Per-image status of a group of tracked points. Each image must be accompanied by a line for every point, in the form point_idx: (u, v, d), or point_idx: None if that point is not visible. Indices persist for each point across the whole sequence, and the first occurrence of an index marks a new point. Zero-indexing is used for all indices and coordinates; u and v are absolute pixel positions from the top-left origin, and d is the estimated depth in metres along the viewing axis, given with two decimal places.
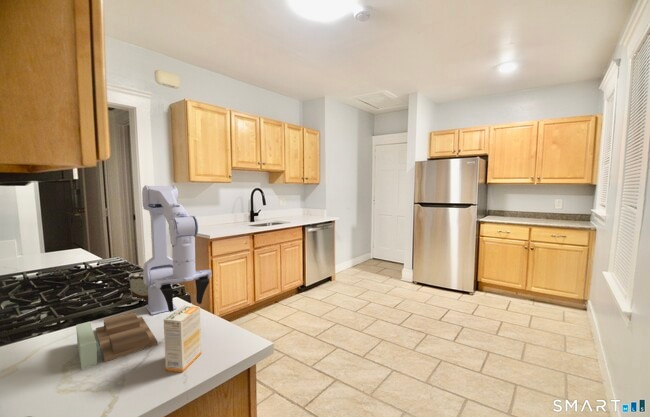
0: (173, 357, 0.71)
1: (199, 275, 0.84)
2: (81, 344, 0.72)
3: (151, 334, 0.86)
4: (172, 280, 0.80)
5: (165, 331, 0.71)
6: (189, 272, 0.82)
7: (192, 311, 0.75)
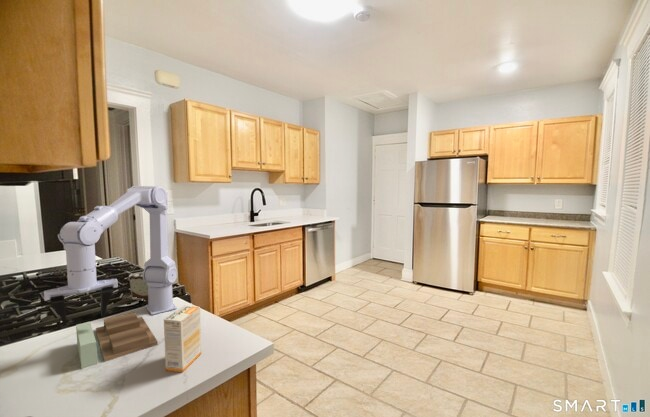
0: (173, 357, 0.71)
1: (100, 285, 0.77)
2: (81, 344, 0.72)
3: (151, 334, 0.86)
4: (64, 291, 0.72)
5: (165, 331, 0.71)
6: (85, 282, 0.74)
7: (192, 311, 0.75)
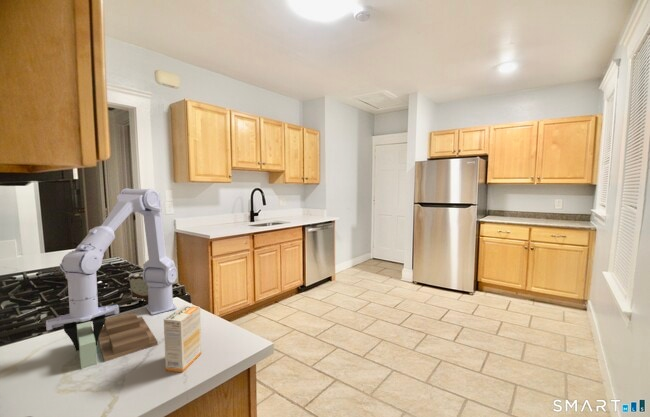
0: (173, 357, 0.71)
1: (101, 313, 0.78)
2: (81, 344, 0.72)
3: (151, 334, 0.86)
4: (66, 321, 0.73)
5: (165, 331, 0.71)
6: (87, 311, 0.75)
7: (192, 311, 0.75)
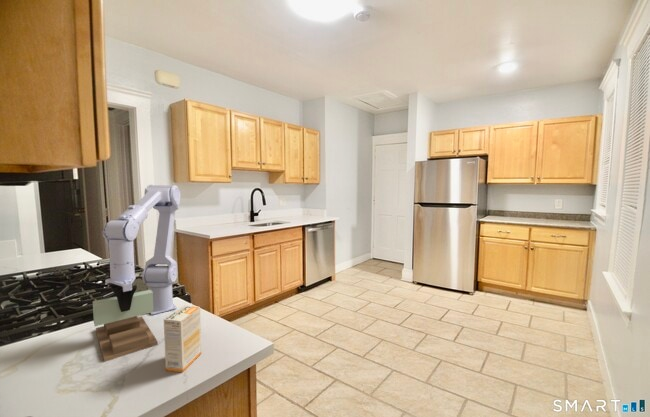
0: (173, 357, 0.71)
1: (116, 283, 0.81)
2: None
3: (151, 334, 0.86)
4: None
5: (165, 331, 0.71)
6: (110, 274, 0.82)
7: (192, 311, 0.75)
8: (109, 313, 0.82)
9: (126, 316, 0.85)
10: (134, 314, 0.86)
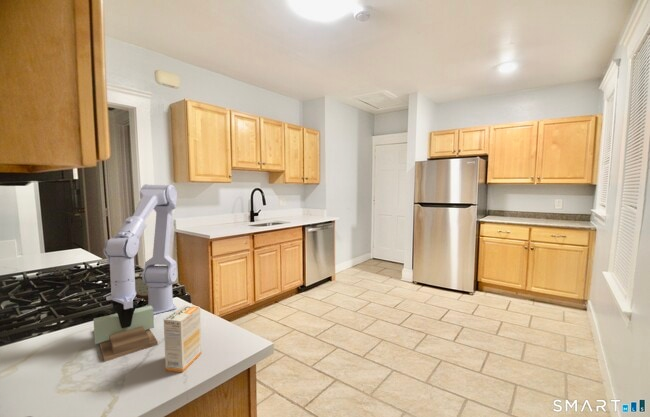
0: (173, 357, 0.71)
1: (117, 300, 0.81)
2: (96, 318, 0.82)
3: (151, 334, 0.86)
4: None
5: (165, 331, 0.71)
6: (111, 291, 0.83)
7: (192, 311, 0.75)
8: (109, 330, 0.82)
9: None
10: None
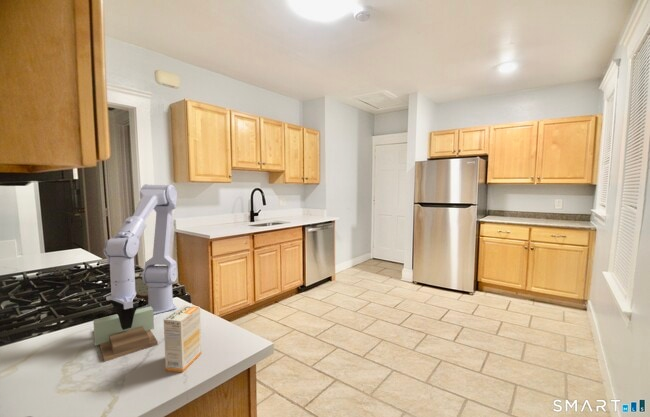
0: (173, 357, 0.71)
1: (117, 300, 0.81)
2: (96, 319, 0.82)
3: (151, 334, 0.86)
4: None
5: (165, 331, 0.71)
6: (111, 291, 0.83)
7: (192, 311, 0.75)
8: (109, 332, 0.82)
9: None
10: None
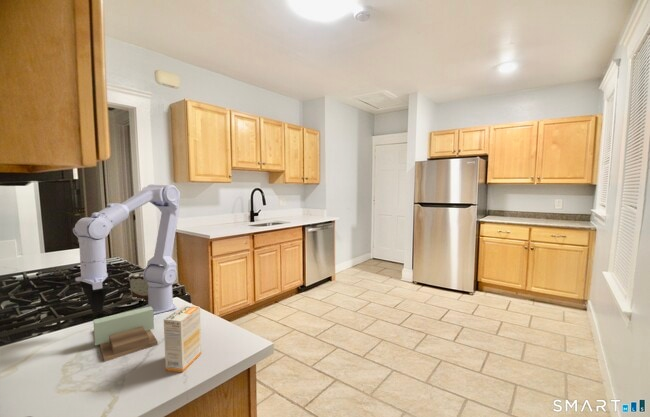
0: (173, 357, 0.71)
1: (86, 281, 0.80)
2: (96, 319, 0.82)
3: (151, 334, 0.86)
4: None
5: (165, 331, 0.71)
6: (81, 272, 0.81)
7: (192, 311, 0.75)
8: (109, 332, 0.82)
9: None
10: None
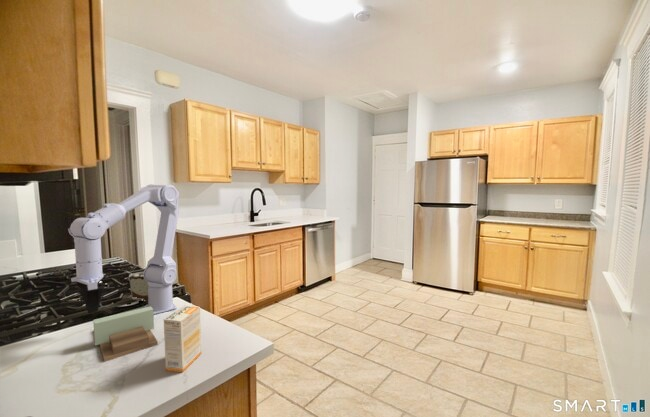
0: (173, 357, 0.71)
1: (81, 281, 0.80)
2: (96, 319, 0.82)
3: (151, 334, 0.86)
4: None
5: (165, 331, 0.71)
6: (76, 273, 0.81)
7: (192, 311, 0.75)
8: (109, 332, 0.82)
9: None
10: None
